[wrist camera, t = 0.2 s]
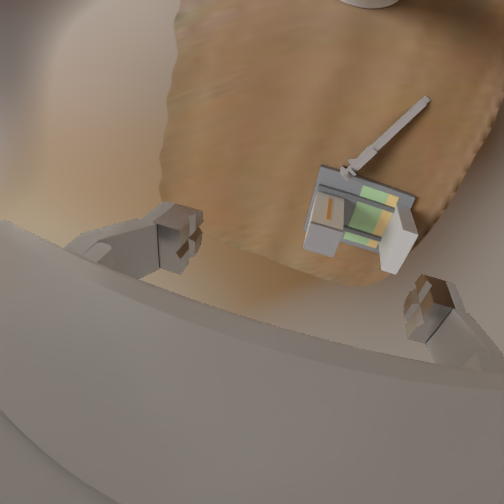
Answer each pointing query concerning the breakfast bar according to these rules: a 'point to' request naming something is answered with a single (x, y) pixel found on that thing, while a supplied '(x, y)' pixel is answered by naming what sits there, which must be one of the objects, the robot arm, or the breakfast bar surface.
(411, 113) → the caliper
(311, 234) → the cream rectangular box
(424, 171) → the breakfast bar surface
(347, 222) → the grey holder
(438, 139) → the breakfast bar surface
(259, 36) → the breakfast bar surface
